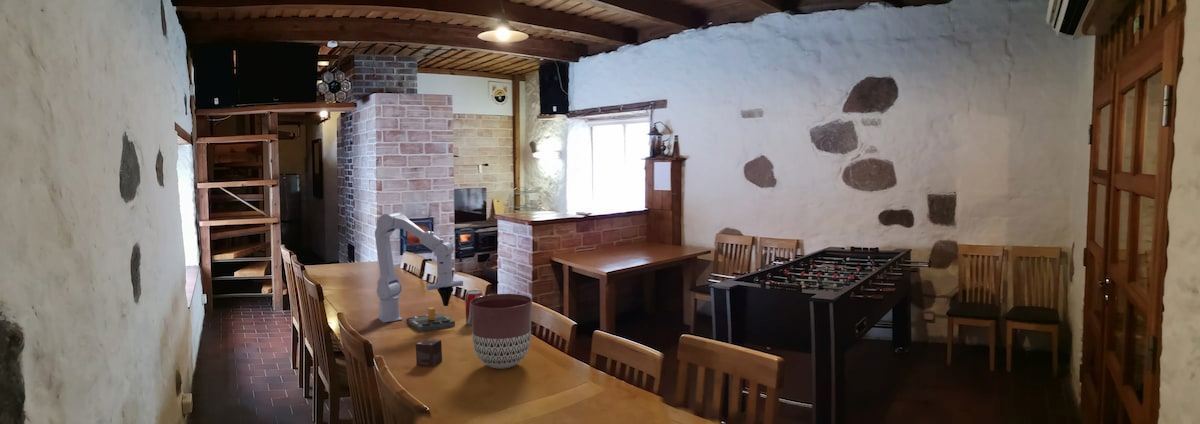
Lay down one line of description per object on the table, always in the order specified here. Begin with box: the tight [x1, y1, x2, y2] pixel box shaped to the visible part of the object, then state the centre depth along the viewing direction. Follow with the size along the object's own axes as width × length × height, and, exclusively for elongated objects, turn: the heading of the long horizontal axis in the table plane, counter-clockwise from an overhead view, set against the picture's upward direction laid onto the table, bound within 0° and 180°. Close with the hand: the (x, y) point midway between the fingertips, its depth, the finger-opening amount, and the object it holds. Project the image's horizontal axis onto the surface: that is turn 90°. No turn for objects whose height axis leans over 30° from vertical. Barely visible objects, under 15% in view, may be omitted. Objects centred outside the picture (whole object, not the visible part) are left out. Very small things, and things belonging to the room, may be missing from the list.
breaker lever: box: [427, 306, 436, 320], centre depth 250 cm, size 3×2×4 cm, turn 34°
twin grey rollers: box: [406, 313, 438, 323], centre depth 258 cm, size 4×13×2 cm, turn 124°
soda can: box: [464, 289, 484, 326], centre depth 252 cm, size 7×7×13 cm
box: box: [415, 338, 443, 368], centre depth 205 cm, size 6×6×7 cm
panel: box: [407, 313, 456, 333], centre depth 251 cm, size 14×14×3 cm
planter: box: [470, 293, 533, 370], centre depth 202 cm, size 20×20×21 cm
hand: (445, 305), depth 253 cm, fingers closed
